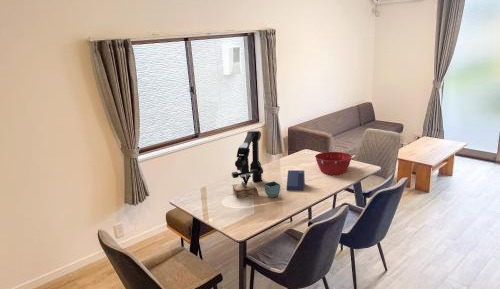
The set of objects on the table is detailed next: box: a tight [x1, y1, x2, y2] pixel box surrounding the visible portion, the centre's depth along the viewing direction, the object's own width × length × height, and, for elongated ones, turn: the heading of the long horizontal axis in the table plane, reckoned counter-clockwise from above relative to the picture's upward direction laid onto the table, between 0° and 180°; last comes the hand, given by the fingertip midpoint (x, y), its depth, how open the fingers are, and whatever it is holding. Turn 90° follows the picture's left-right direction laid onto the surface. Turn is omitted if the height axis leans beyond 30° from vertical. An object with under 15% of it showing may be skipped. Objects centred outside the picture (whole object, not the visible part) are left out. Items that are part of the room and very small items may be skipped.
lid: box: [231, 181, 257, 191], centre depth 261 cm, size 14×13×3 cm
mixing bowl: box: [314, 151, 353, 176], centre depth 291 cm, size 28×28×16 cm
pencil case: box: [232, 183, 258, 199], centre depth 262 cm, size 15×13×4 cm
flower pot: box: [263, 181, 281, 198], centre depth 253 cm, size 9×9×9 cm
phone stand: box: [286, 169, 306, 192], centre depth 265 cm, size 12×12×12 cm
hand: (245, 184), depth 261 cm, fingers closed
